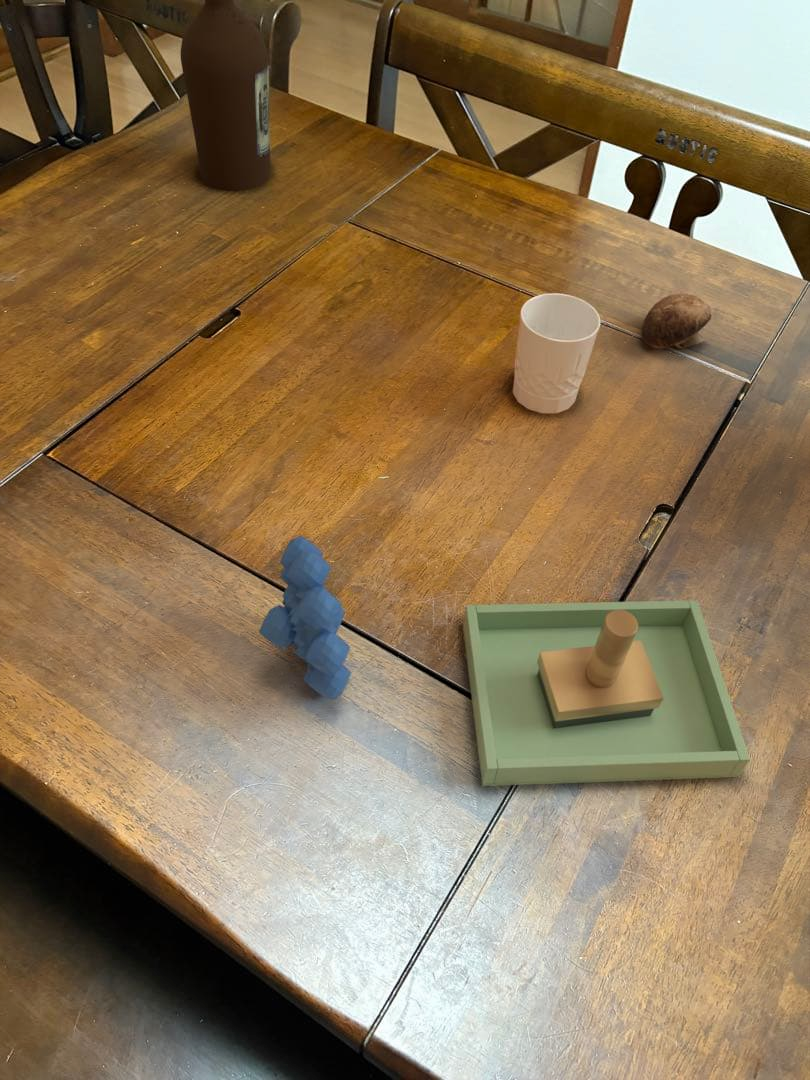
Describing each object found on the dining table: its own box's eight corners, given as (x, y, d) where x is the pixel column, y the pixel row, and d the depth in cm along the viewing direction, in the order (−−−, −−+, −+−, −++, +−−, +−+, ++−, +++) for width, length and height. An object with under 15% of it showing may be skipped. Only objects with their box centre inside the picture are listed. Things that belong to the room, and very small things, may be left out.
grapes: (249, 616, 77) (235, 522, 68) (326, 598, 79) (324, 504, 69) (281, 735, 70) (271, 648, 61) (365, 713, 72) (368, 625, 62)
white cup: (530, 361, 101) (545, 283, 93) (593, 390, 98) (614, 313, 91) (493, 398, 97) (505, 320, 89) (558, 430, 94) (576, 352, 86)
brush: (631, 660, 75) (664, 586, 68) (654, 717, 72) (690, 647, 64) (533, 672, 74) (555, 598, 66) (551, 731, 71) (576, 661, 63)
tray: (687, 621, 79) (697, 599, 77) (736, 778, 70) (750, 759, 67) (462, 626, 77) (465, 604, 75) (482, 787, 68) (486, 768, 66)
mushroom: (738, 332, 101) (717, 284, 98) (683, 376, 100) (661, 329, 97) (693, 323, 108) (672, 278, 105) (641, 364, 107) (619, 320, 104)
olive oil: (191, 194, 120) (162, -17, 101) (201, 154, 127) (175, -51, 108) (272, 196, 121) (259, -13, 102) (278, 157, 127) (266, -46, 108)
